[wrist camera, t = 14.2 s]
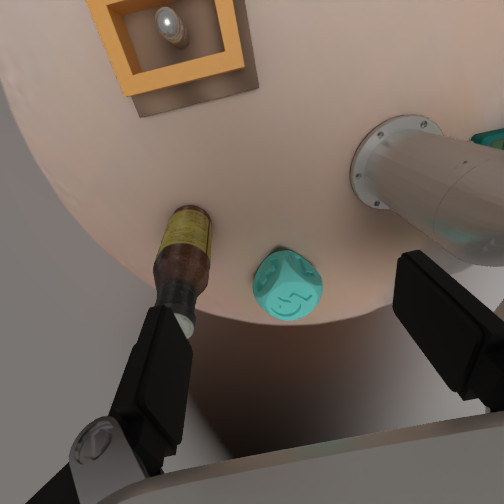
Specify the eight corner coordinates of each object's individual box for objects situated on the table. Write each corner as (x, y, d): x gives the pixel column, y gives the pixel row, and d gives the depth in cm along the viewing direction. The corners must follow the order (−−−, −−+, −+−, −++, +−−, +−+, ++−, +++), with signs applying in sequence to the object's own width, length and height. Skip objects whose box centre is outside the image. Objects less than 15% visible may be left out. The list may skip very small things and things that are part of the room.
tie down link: (223, -35, 24) (222, -55, 21) (242, 68, 29) (244, 66, 25) (99, -2, 25) (79, -15, 21) (136, 95, 29) (124, 97, 26)
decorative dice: (314, 263, 45) (330, 294, 39) (286, 294, 49) (295, 327, 42) (278, 242, 42) (287, 271, 36) (250, 276, 46) (254, 309, 39)
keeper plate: (232, -62, 24) (234, -128, 17) (257, 87, 31) (267, 88, 23) (89, -22, 25) (29, -69, 18) (143, 116, 32) (116, 126, 24)
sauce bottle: (162, 213, 38) (111, 313, 22) (200, 197, 37) (179, 287, 21) (184, 248, 42) (156, 358, 25) (220, 234, 41) (216, 338, 24)
